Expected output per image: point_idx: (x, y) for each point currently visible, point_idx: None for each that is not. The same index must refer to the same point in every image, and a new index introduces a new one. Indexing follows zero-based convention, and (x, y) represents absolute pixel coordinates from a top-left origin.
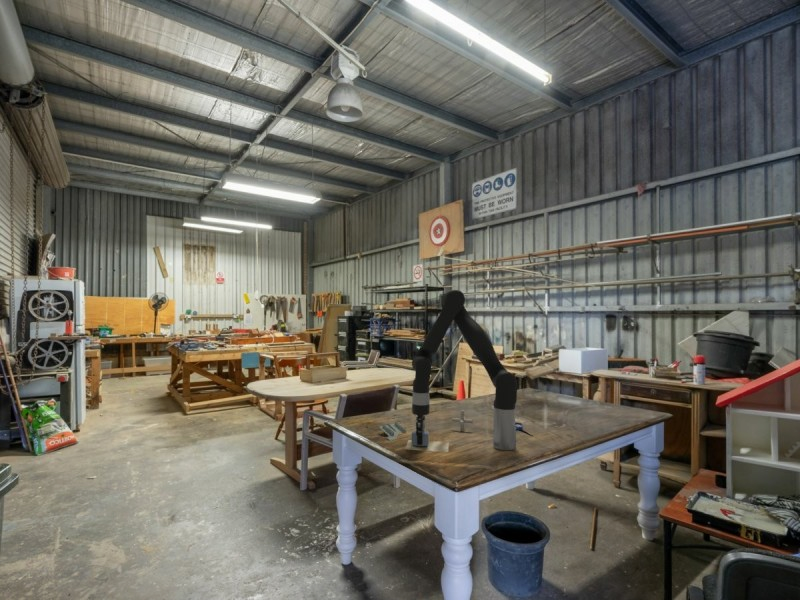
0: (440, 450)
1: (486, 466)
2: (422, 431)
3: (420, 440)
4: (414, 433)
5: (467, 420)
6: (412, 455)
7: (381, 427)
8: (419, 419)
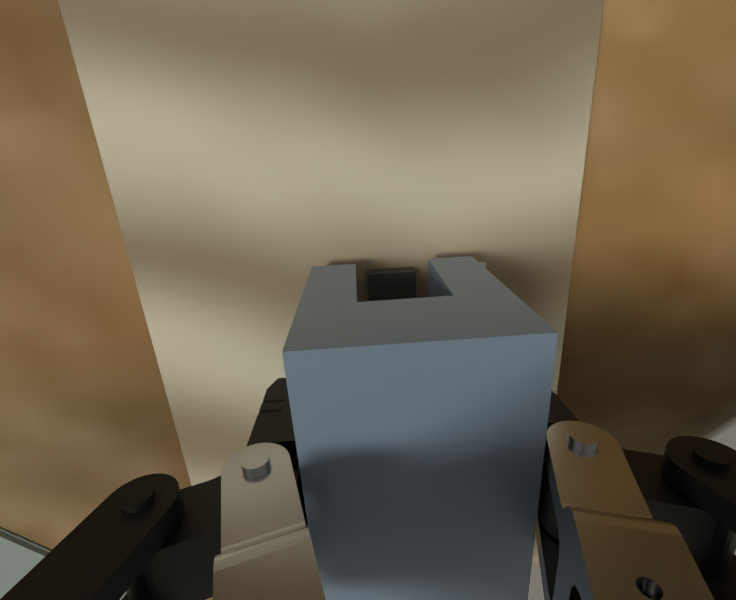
0: (544, 31)
1: None
2: (644, 502)
3: (550, 401)
4: (528, 581)
5: None
6: (623, 380)
7: None
8: None
